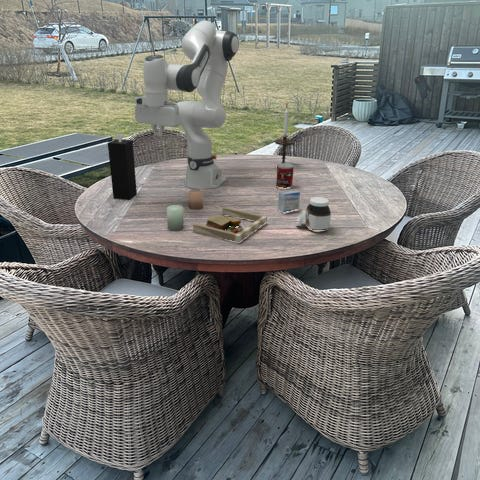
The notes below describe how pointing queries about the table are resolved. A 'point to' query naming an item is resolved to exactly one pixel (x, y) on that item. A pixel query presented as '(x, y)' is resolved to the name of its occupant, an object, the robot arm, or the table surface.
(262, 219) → the frame
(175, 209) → the sage green rounded piece
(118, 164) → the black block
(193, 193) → the peach rounded cylinder
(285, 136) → the candlestick
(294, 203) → the medicine box
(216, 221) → the toy sandwich meal
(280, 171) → the canned food
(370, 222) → the table surface
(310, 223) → the spread jar
